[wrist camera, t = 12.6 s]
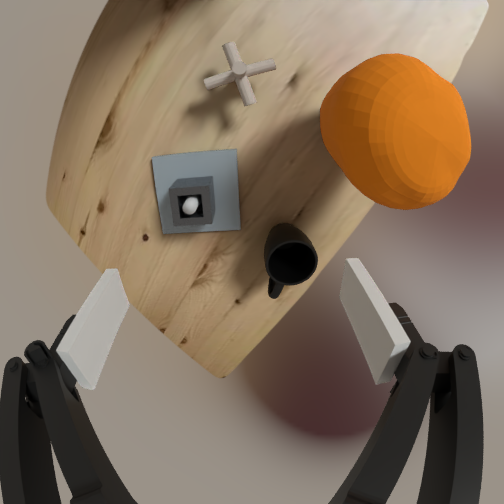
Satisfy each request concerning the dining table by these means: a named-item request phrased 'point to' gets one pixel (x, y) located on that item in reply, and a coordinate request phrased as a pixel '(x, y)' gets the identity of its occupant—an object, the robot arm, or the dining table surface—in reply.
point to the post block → (225, 193)
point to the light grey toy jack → (239, 73)
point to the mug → (288, 258)
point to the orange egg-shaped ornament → (397, 131)
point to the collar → (192, 187)
